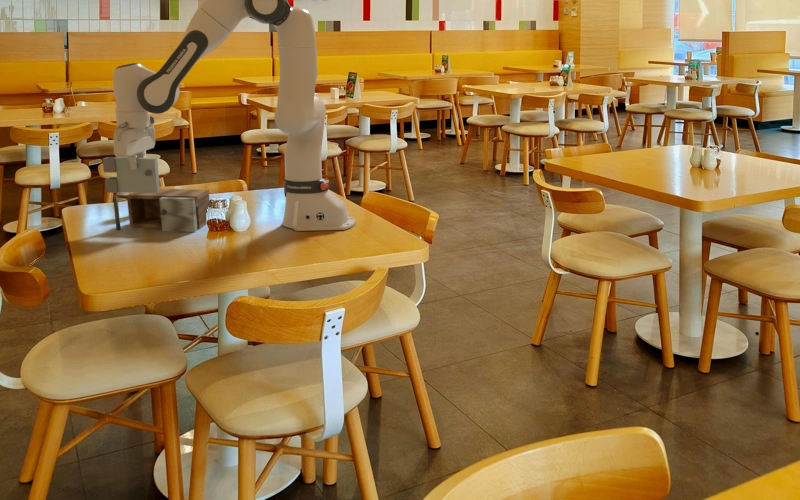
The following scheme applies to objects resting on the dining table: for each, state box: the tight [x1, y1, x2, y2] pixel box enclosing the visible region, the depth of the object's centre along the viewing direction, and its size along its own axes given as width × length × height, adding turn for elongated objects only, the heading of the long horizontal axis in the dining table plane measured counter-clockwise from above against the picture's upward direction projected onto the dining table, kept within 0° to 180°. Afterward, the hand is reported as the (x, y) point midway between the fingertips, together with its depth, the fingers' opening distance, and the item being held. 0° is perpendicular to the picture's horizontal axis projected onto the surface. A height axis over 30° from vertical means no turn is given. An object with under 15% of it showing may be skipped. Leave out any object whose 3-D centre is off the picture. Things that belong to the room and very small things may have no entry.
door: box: [101, 156, 161, 194], centre depth 230 cm, size 16×4×10 cm, turn 84°
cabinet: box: [112, 188, 211, 233], centre depth 238 cm, size 25×15×10 cm, turn 84°
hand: (137, 168), depth 230 cm, fingers closed on door, 2 cm apart
